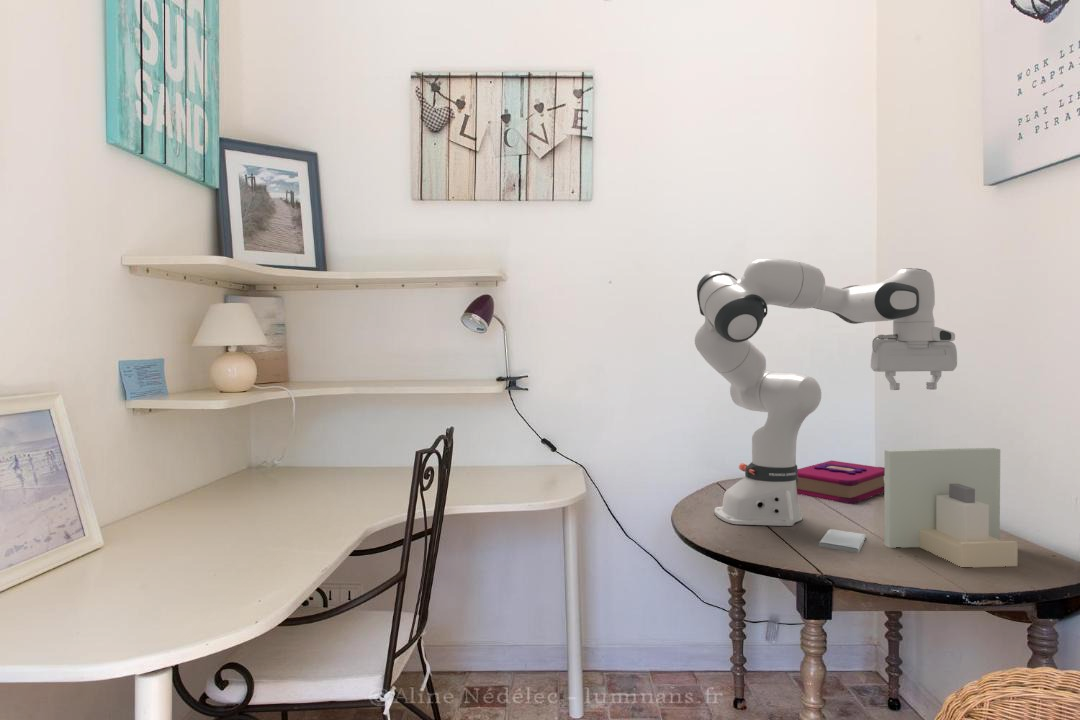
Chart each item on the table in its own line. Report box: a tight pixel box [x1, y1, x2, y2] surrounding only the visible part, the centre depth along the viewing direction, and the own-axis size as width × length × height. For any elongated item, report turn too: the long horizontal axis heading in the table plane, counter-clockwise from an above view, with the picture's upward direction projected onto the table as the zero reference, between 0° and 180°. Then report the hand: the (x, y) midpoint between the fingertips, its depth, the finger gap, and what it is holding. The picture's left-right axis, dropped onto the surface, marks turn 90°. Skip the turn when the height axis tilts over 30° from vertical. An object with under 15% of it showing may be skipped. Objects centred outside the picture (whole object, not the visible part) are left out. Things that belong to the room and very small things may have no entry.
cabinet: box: [936, 484, 989, 542], centre depth 134 cm, size 5×9×11 cm, turn 3°
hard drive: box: [818, 528, 867, 554], centre depth 143 cm, size 2×8×12 cm
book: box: [796, 460, 885, 505], centre depth 193 cm, size 21×28×8 cm
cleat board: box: [883, 447, 1019, 568], centre depth 134 cm, size 26×15×22 cm, turn 93°
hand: (913, 389), depth 153 cm, fingers open, 8 cm apart
